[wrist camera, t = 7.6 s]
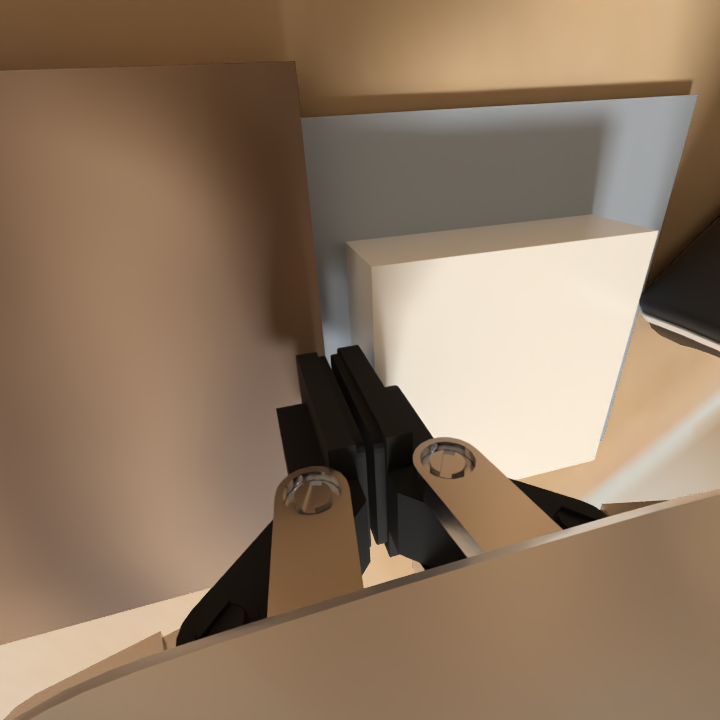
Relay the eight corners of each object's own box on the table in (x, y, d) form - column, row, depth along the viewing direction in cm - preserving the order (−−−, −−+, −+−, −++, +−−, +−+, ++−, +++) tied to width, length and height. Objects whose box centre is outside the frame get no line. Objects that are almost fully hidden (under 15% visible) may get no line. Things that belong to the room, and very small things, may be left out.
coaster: (591, 214, 14) (658, 230, 12) (549, 419, 18) (594, 460, 16) (345, 241, 12) (371, 267, 10) (358, 462, 16) (379, 514, 14)
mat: (689, 94, 13) (698, 94, 13) (597, 436, 20) (602, 440, 19) (291, 118, 11) (293, 117, 10) (334, 501, 17) (336, 507, 17)
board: (285, 69, 10) (294, 61, 9) (336, 519, 17) (345, 550, 16) (-650, 101, 7) (-842, 96, 6) (-112, 634, 14) (-145, 684, 13)
